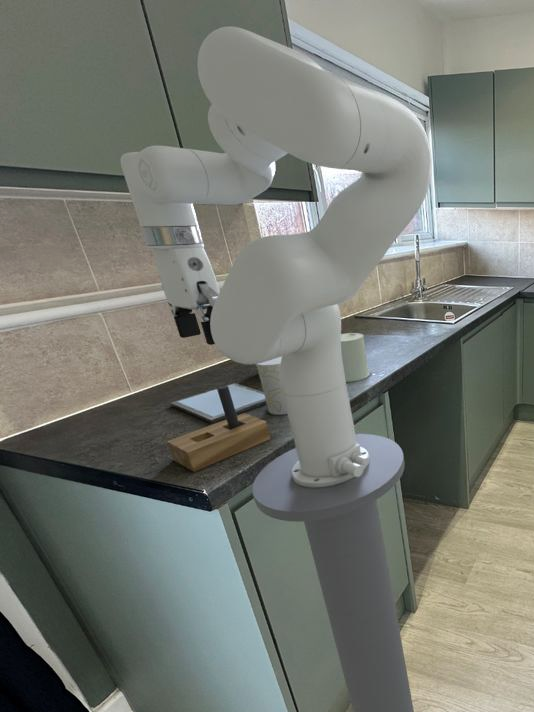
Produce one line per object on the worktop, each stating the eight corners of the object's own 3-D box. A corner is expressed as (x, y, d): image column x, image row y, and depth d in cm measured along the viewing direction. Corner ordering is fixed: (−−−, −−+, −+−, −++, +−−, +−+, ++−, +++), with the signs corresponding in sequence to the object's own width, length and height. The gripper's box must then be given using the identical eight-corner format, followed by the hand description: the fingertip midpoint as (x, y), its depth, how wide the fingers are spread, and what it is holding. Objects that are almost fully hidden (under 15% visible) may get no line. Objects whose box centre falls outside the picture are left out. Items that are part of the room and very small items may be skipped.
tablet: (277, 399, 104) (276, 395, 103) (211, 423, 92) (210, 419, 91) (235, 386, 114) (234, 382, 113) (171, 406, 102) (170, 402, 101)
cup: (260, 413, 96) (247, 364, 92) (286, 399, 104) (274, 353, 99) (290, 415, 94) (278, 365, 90) (314, 401, 102) (303, 354, 97)
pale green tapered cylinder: (376, 371, 121) (369, 331, 117) (357, 383, 113) (350, 340, 109) (348, 370, 124) (341, 330, 119) (328, 380, 115) (320, 339, 111)
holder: (270, 438, 84) (266, 421, 83) (194, 472, 73) (187, 452, 72) (249, 429, 88) (244, 412, 87) (173, 460, 77) (166, 441, 76)
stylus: (246, 442, 83) (229, 386, 79) (236, 445, 82) (219, 389, 78) (241, 439, 84) (225, 384, 80) (232, 443, 83) (215, 388, 78)
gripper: (226, 237, 67) (252, 340, 73) (176, 237, 75) (203, 329, 82) (171, 240, 61) (205, 351, 67) (124, 239, 69) (157, 338, 76)
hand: (204, 339), depth 74 cm, fingers open, 9 cm apart
